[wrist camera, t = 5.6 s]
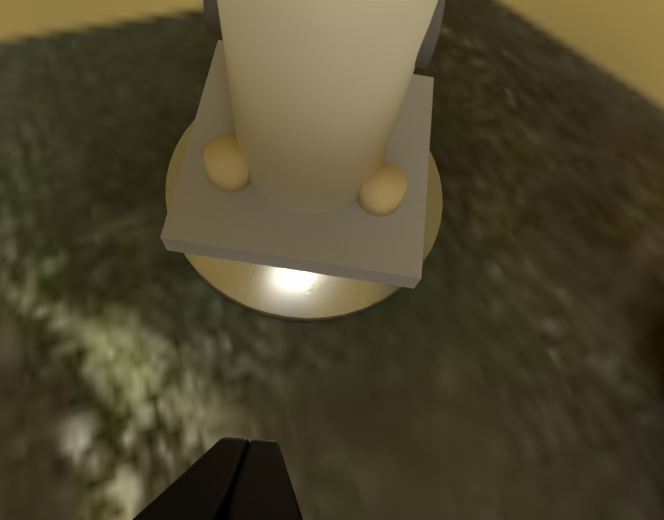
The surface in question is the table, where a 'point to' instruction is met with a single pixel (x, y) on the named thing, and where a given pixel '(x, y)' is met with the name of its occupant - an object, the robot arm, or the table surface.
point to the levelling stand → (298, 286)
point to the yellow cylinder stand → (312, 139)
